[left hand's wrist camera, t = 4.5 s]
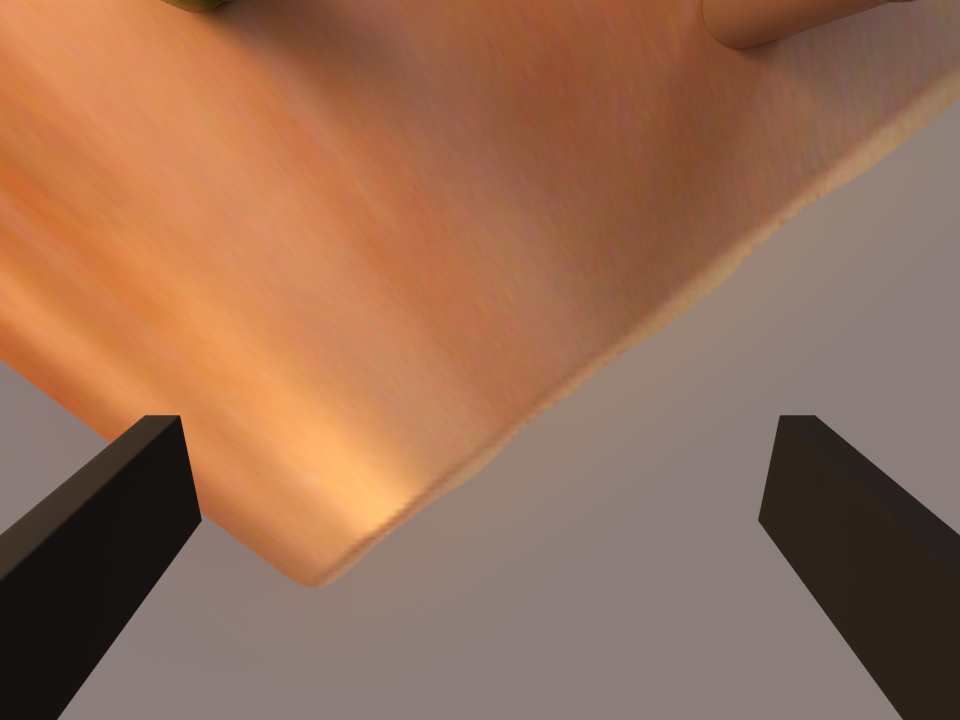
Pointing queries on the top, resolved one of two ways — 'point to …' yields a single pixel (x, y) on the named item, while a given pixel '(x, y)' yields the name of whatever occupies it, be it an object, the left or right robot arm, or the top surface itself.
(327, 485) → the top surface
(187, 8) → the soda can
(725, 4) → the screw-top jar
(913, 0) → the lid
